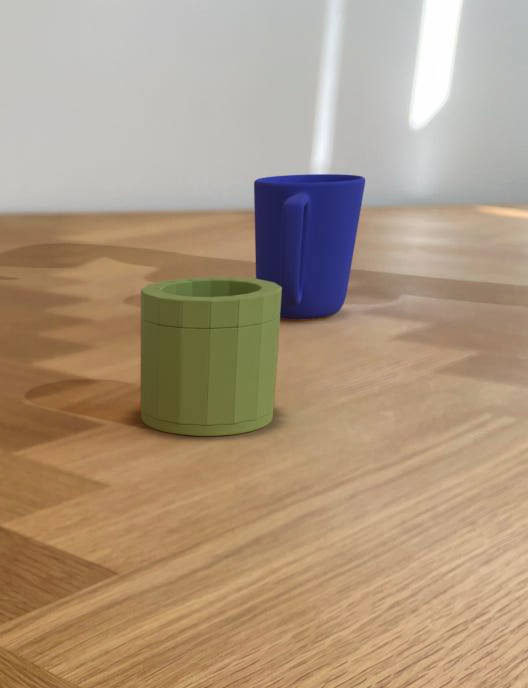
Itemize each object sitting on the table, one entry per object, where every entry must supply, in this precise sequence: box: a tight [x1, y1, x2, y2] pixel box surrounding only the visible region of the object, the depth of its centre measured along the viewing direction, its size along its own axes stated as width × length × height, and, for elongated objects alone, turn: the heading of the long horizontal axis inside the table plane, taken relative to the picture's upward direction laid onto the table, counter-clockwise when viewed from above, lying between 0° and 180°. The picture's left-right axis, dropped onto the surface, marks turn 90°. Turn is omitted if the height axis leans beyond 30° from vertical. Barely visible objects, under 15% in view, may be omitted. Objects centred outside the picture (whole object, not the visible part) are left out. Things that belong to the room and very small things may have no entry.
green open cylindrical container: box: [139, 276, 282, 437], centre depth 57 cm, size 7×7×7 cm
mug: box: [253, 173, 366, 321], centre depth 80 cm, size 8×12×10 cm
